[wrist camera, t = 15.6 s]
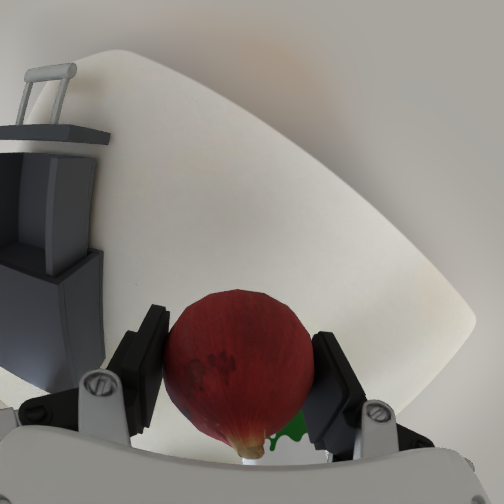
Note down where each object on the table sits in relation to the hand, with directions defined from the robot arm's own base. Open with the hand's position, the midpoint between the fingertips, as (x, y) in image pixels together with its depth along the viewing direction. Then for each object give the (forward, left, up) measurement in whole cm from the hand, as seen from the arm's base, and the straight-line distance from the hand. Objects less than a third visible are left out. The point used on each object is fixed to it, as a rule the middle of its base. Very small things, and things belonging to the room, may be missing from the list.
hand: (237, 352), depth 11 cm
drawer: (-16, -14, -16) cm, 27 cm away
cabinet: (-3, -23, -17) cm, 29 cm away
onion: (0, 0, -3) cm, 3 cm away
